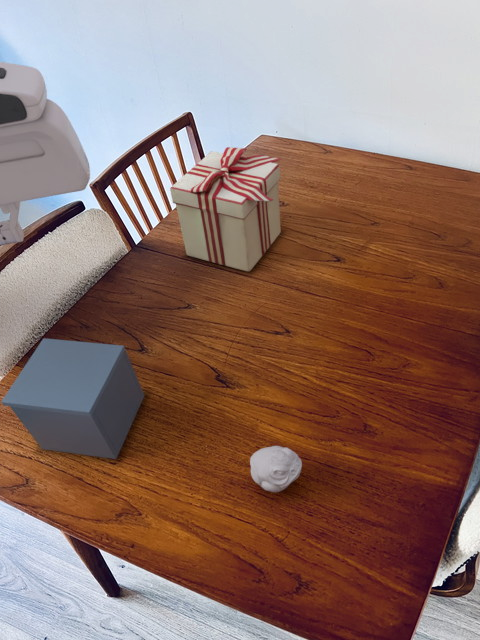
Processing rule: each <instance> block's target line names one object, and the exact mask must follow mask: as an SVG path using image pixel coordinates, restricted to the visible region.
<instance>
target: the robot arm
mask: <svg viewBox="0 0 480 640" xmlns="http://www.w3.org/2000/svg"><path fill="white" fill-rule="evenodd" d="M47 92H48V91H47V85H46V81H45V79H44V75H43V74H42V73H41V71H40V70H39V69H37V68H35V67H33V66H29V65H24V64H23V65H22V64H16V63H10V62H4V61H0V210H1V211H2V214H4V215H8V214H10V215H9V219H7V220H3V221H0V246H5V245H11V244H16V243H22V242H24V240H25V239H24V238H25V234H24V230H23V228H22V226H21V224H20V222H19V213H20V206H21V202H26V201H31V200H37V199H42V198H47V197H55V196H58V195H66V194H72V193H76V192H81V191H85V190H86V189H87V186H88V184H89V182H90V179H91V167H90V163H89V160H88V156H87V154H86V151H85V149H84V146H83V145H82V142H81V140H80V138H79V135H78V134H77V132H76V129H75V128H74V126H73V125H72V122H71V120H70V119H69V117H68V116H67V114H66V112H65V111H64V110H63V109H62V107H61V106H59V104H57V103H56V102H55V101H53V100H51V99H49V98H47V97H48V93H47Z"/></svg>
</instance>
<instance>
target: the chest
mask: <svg viewBox="0 0 480 640" xmlns="http://www.w3.org/2000/svg"><path fill="white" fill-rule="evenodd" d="M144 399H145V393H144V390H143V388H142V386H141V383H140V381H139V379H138V376H137V374H136V371H135V369H134V367H133V364H132V361H131V359H130V357H129V355H128V353H127V350H126V349H125V351H124V353H123V355H122V357H121V359H120V361H119V363H118V365H117V367H116V369H115V371H114V373H113V375H112V377H111V379H110V381H109V382H108V384H107V386H106V388H105V390H104V392H103V394H102V396H101V398H100V400H99V402H98V404H97V406H96V408H95V410H94V412H93V414H92V415H91V416H89V415H80V414H72V413H64V412H55V411H47V410H38V409H30V408H21V407H13V406H9V407H10V409H11V410H12V412H13V413H14V414H15V416H16V417H17V418H18V420H19V421H20V423H22V425H23V426H24V427H25V429H26V430H27V431H28V433H29V434H30V436H31V437H32V438H33V440H34V441H35V442H36V443H37V445H38V446H39V448H40V449H41V450H44V451H45V450H46V451H51V452H59V453H68V454H74V455H82V456H90V457H96V458H104V459H113V460H117V458H118V457H119V454H120V452H121V450H122V447H123V445H124V443H125V440H126V438H127V436H128V434H129V431H130V429H131V427H132V425H133V423H134V421H135V418H136V416H137V414H138V411H139V410H140V408H141V404H142V403H143V401H144Z"/></svg>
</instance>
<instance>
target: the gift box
mask: <svg viewBox="0 0 480 640" xmlns="http://www.w3.org/2000/svg"><path fill="white" fill-rule="evenodd" d="M247 150H248V149H247V148H246V147H231V146H229V147H228V146H227V147H225V149H224V151H223V152H218V151H214V150H210V152H208V153H207V154H206V155H205V156H204V157H203V158H202V159H201V160H199V162H197V164H195V165H194V166H193V167H191V169H189V170H188V171H187V172H186V173H185V174H184V175H183V176H182V177H181V178H179V179H178V180H177V181H176V182H175V183H174V184H173V185H171V186H170V187H169V191H170V196H171V201H172V204H175V208H176V211H177V216H178V221H179V226H180V231H181V237H182V240H183V244H184V248H185V254H186V255H187V256H189V257H191V258H195V259H199V260H203V261H207V262H210V263H214V264H217V265H221V266H224V267H230V268H233V269H236V270H239V271H240V270H241V271H244V272H247V273H249V272H251V271H252V270H253V269H254V268H255V266H256V265H257V264H258V262H259V261H260V260H261V258H262V257H263V256H264V255H265V253H266V252H267V251H268V250H269V249H270V247H271V246H272V245H273V243H274V242H275V241H276V239H277V238H278V237H279V236H280V234H281V233H282V232H281V230H282V229H281V211H280V193H279V192H280V191H279V182H280V180H281V169H280V164H279V163H275V162H278V161H282V160H283V158H280V157H279V158H277V157H272V156H268V155H263V154H257V155H251V156H247V157H245V156H242V155H243V154H244V152H247Z"/></svg>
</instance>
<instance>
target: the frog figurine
mask: <svg viewBox="0 0 480 640" xmlns="http://www.w3.org/2000/svg"><path fill="white" fill-rule="evenodd" d="M249 464H250V475H251V478H252V480H253V481H254V482H255V483H256V484H257V485H258V486H260V488H261V489H263V490H264V491H266V492H271V493H279V492H282V491H284V490H286V489H287V488H288V487H289V486H290V484H291V483H293V482H294V481H296V480H297V479H298V478H299V477H300V474H301V473H302V467H303V462H302V459H301V458H300V457H299V455H298V454H297V453H296V452H295V451H293V450H292V449H291V448H289V447H287V446H286V447H285V446H284V447H283V446H281V445H272V446H267V447H263V448H260V449H258V450H257V451H255V452H253V454H252V455H251V456H250V459H249Z"/></svg>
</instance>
